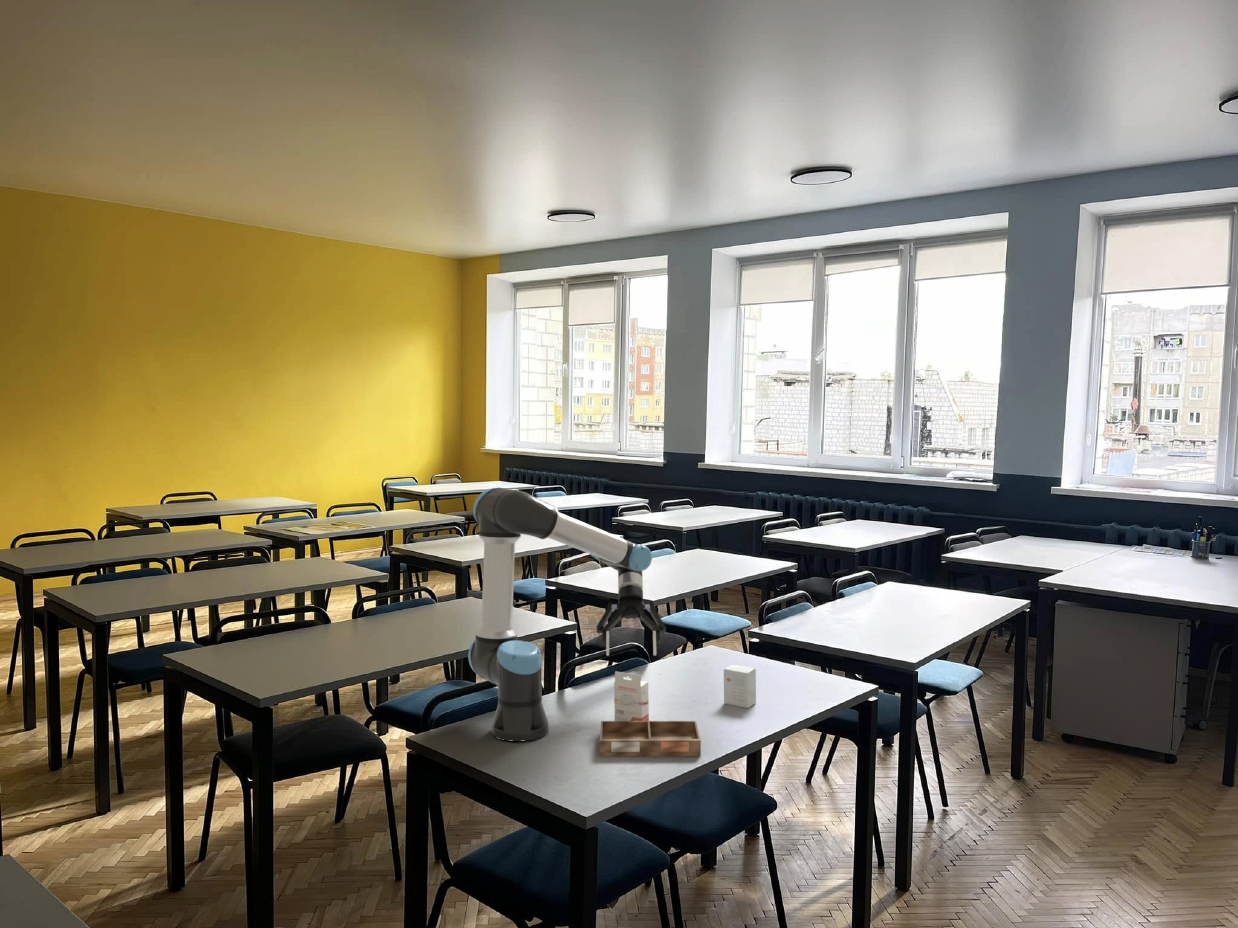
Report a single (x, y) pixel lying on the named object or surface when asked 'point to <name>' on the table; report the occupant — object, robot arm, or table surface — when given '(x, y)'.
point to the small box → (739, 686)
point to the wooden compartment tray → (649, 738)
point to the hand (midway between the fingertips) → (631, 653)
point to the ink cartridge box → (630, 698)
